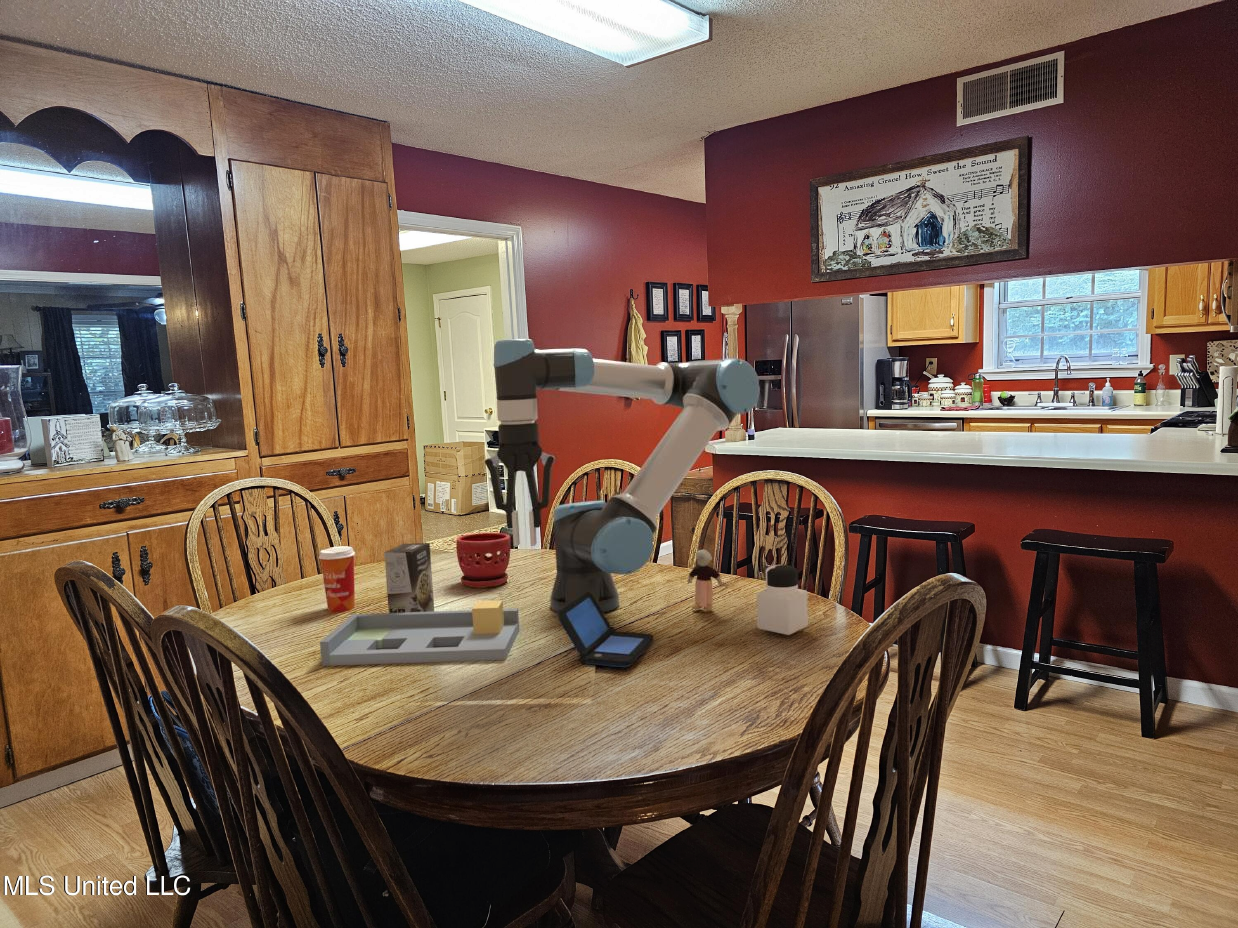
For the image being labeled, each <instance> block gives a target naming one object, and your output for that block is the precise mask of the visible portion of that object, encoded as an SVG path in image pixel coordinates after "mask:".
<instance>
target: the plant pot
mask: <svg viewBox="0 0 1238 928" xmlns="http://www.w3.org/2000/svg"><path fill="white" fill-rule="evenodd" d="M455 545H456V547H455V548H456V557H457V562H458V565H459V568H460V571H461V572H462V574H463V575H462V576H461V577H460V582H461V583H462V584H463V585H464V586H466V587H469V588H473V589H474V588H475V589H486V588H487V589H488V588H493V587H498V586H500V585H502V584H504V583H505V582H507V581H508V578H509V574H508V573H507V572H506V571H507V569H508V567H509V564H510V558H511V536H510V534H506V533H501V532H482V533H481V532H480V533H471V534H469V533H468V534H465V535H460V536H458V537H457V538H456V544H455ZM498 553H499V554H498ZM487 554H490V556H488V555H487Z"/></svg>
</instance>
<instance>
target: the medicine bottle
mask: <svg viewBox="0 0 1238 928" xmlns="http://www.w3.org/2000/svg"><path fill="white" fill-rule="evenodd" d="M798 573H799V571H798V569H797V568H796V567H795V566H792V565H788V564H774V565H771V566H769V567H767V568H766V569H765V588H766V589H764V590H762V591H759V592H757V593H756V610H757V613H756V617H757V629H759V630H763V631H764V630H765V631H768V632H773V633H776V634H777V633H778V634H782V635H786V636H790V635H792V634H794V633H797V632H798V631H800V630H802V629H804V628H806V627H807V626H808V624H809V623H808V622H809V618H808V617H809V616H808V614H809V613H808V612H809V611H808V591H807V590H806V589H805V590H804V589H800V588H799V577H798V575H799V574H798Z"/></svg>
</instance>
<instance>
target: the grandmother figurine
mask: <svg viewBox="0 0 1238 928" xmlns="http://www.w3.org/2000/svg"><path fill="white" fill-rule="evenodd" d="M695 556H696V557H695V558H696V562H697V565H696V566H695V567H693V568H692V569H691V571H690V572H689V575H688V579H687V580H686V581H687V583H688V584H692V582H693V580H694V578H695V577H696V579H695V589H694V590H695V592H694V593H695V594H694V604H693V605H692V606H691V609H693V610H700V609H703V611H711V610H713V609H714V606H713V598H714V596H713V594H714V591H713V589H714V588H713V582H712V580H713V579H714V580H716V581H717V585H723V582H724V581H723V580H722V578H721V574H720V573H719V572H718V571H717V570H716V569H715V568H714V567H713V566H710V565H709V564H710V562H711V561H712V559H713V557H712V554H711V553H710V552H709V551H707V550H706V549H699V550H697V552H696V554H695ZM712 578H713V579H712Z"/></svg>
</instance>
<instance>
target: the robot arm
mask: <svg viewBox="0 0 1238 928" xmlns="http://www.w3.org/2000/svg"><path fill="white" fill-rule="evenodd" d="M493 368H494V377H495V378H494V380H495V382H494V383H495V391H496V393H495V394H496V414H497V415H496V416H497V421H498V422H500V424H499V425H498V426H497V430H498V443H499V444H498V445H499V446H498V449H497V452H496V454H495V455H493V456H491V457H488V458H486V459H485V461H484V464H485V465H486V468H487V469H488V471H489V475H490V481H491V486H492V491H493V497H494V504H495V508H496V509H497V510H501V511H504V512H505V515H506V516H505V517H506V527H507V529H508V530H509V529H511V530H512V539H513V540H512V541H513V542H512V543H513V547H514V548H515V547H517V548H518V547H519V546H520V544H521V541H520V525H519V510H517V509H516V510H514V509H515V495H516V483H517V482H516V481H517V473H518V472H523V473H525V474H524V475H525V477H526V481H527V482H526V483H527V486H528V493H529V497H530V502H531V507H532V509H530V510H529V511H528V522H529V536H530V537H529V538H530V546H531V547H535V546H536V545H537V542H538V541H537V528H540V527H541V525H542V519H541V518H542V517H541V510H543V509H545V508H547V507H548V506H549V505H550V504H551V503H550V501H551V499H550V498H551V485H552V484H551V483H552V468H553V465H554V463H555V461H556V456H555V455H553V454H551V455H550V454H548V453H546V452H543V449H542V447H541V445H540V435H539V430H540V429H539V424H538V423H537V422H536V420H537V419H539V417H538V416H539V415H538V401H537V400H538V399H537V397H538V394H537V390H549V391H563V392H573V393H581V394H582V393H584V394H594V395H605V396H613V397H624V398H625V397H626V398H636V399H647V400H652V401H653V402H654V403H655V404H657V405H664V406H669V407H675V408H680V409H682V410H681V412H680V413H679V414H678V415H677V417H676V419H675V420H674V421H673V423H672V424H671V425H670V427H668V430H667V431H666V433H665V434H664V435H663V437H662V438H661V439H660V441H659V442H658V443H657V445H656V446H655V447H654V449H653V451H652V452H651V454H650V455H649V456H648V458H646V461H645V462H644V463H643V464H642V466H641V467H640V469H639V470H638V471H637V473H636V474H635V475H634V477H633V478H632V479H631V481H630V482H629V484H628V485H627V487H626V488H625V490H624V491H623V492H622V493H620V494H615V495H611V496H610V498H609V499H608V500H607V502H605V501H604V500H590V501H589V500H588V501H581V502H573V503H565V504H560V505H558V506H555V508H554V510H553V520H552V524H553V532H554V550H555V567H556V573H555V574H556V575H555V579H554V582H553V586H552V589H551V594H550V597H549V601H550V606H549V607H550V609H551V610H552V611H554V612H555V613H558V612H559V611H560V610H562V609H563V608H564V607H566V606H567V605H569V604H570V603H572V602H573V601H575V600H576V599H577V598H579V597H580V596H582V595H583V594H585V593H586V592H589V593H591V594H592V595H593V597H594V599H595V600H596V602H597V604H598V605H599V607H600V609H601V610H602V613H607V612H609V611H612V610H615V609H616V608H618V606H619V605H620V597H619V592H618V588H617V586H616V584H615V581H614V578H613V574H614V575H620V576H622V575H623V576H625V575H629V574H630V575H631V574H633V573H636V572H637V571H639V570H640V569H642V568H643V567H644V566H645V565H646V564H647V563H648V561H649V560H650V558H651V556H652V554H653V552H654V551H653V550H654V549H655V548H654V547H655V546H654V543H653V542H655V539H654V535H655V533H656V532H657V530H658V522H657V517H658V516H659V514H660V513H661V511H662V510H663V509H664V507H665V506H666V504H668V501H669V500H670V499H671V497H672V496H673V494H674V493H675V492H676V490H677V489H678V487H679V485H680V484H681V483H682V482H683V480H684V479H685V477H686V475H688V473H689V472H690V470H691V469H692V467H693V466H694V464H695V463H696V461H697V460H698V458H699V457H700V455H702V453H703V452H704V450H705V449H706V447H707V446H708V444H709V443H710V441H711V440H712V438H713V437H714V436H715V434H716V433H717V432H718V431H725V430H727V429H729V426H730V425H731V423H732V422H733V421H734V419H735V418H736V417H737V415H744V414H746V413H749V412H750V411H751V410H752V409H754V407H756V405H757V403H758V401H759V396H760V391H761V386H760V383H759V382H760V380H759V377H758V374H757V372H756V370H755V369H754V367H753V366H752V365H751V364H750V363H749V362H748V361H746V360H744V359H741V358H733V357H726V358H723V359H706V360H705V359H704V360H702V359H700V360H699V359H698V360H693V361H685V362H663V361H660V362H658V363H657V364H656V365H651V364H645V363H644V364H643V363H642V364H641V363H634V362H625V361H617V360H616V361H615V360H610V359H609V360H608V359H599V358H593V356H592V354H591V352H590V351H588V349H585V348H574V347H572V348H554V349H553V348H552V349H536V347H535V344H534V341H533V340H532V339H530V338H513V339H512V338H511V339H502V340H500V339H499V340H497V341H496V342H495V344H494V346H493ZM540 459H541V463H542V465H543V471H542V472H543V475H542V477H543V478H542V490H541V491H542V493H541V501H540V496H539V490H538V486H537V481H536V475H535V468H534V467H535V466H536V464H537V463H538V462H539V460H540ZM499 461H500V462H501V463H502V464H503V465H504V466H505V468H506V469H507V481H506V482H507V483H506V495H505V496H506V499H504V495H503V489H502V483H501V477H500V471H499V466H500V462H499Z"/></svg>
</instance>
